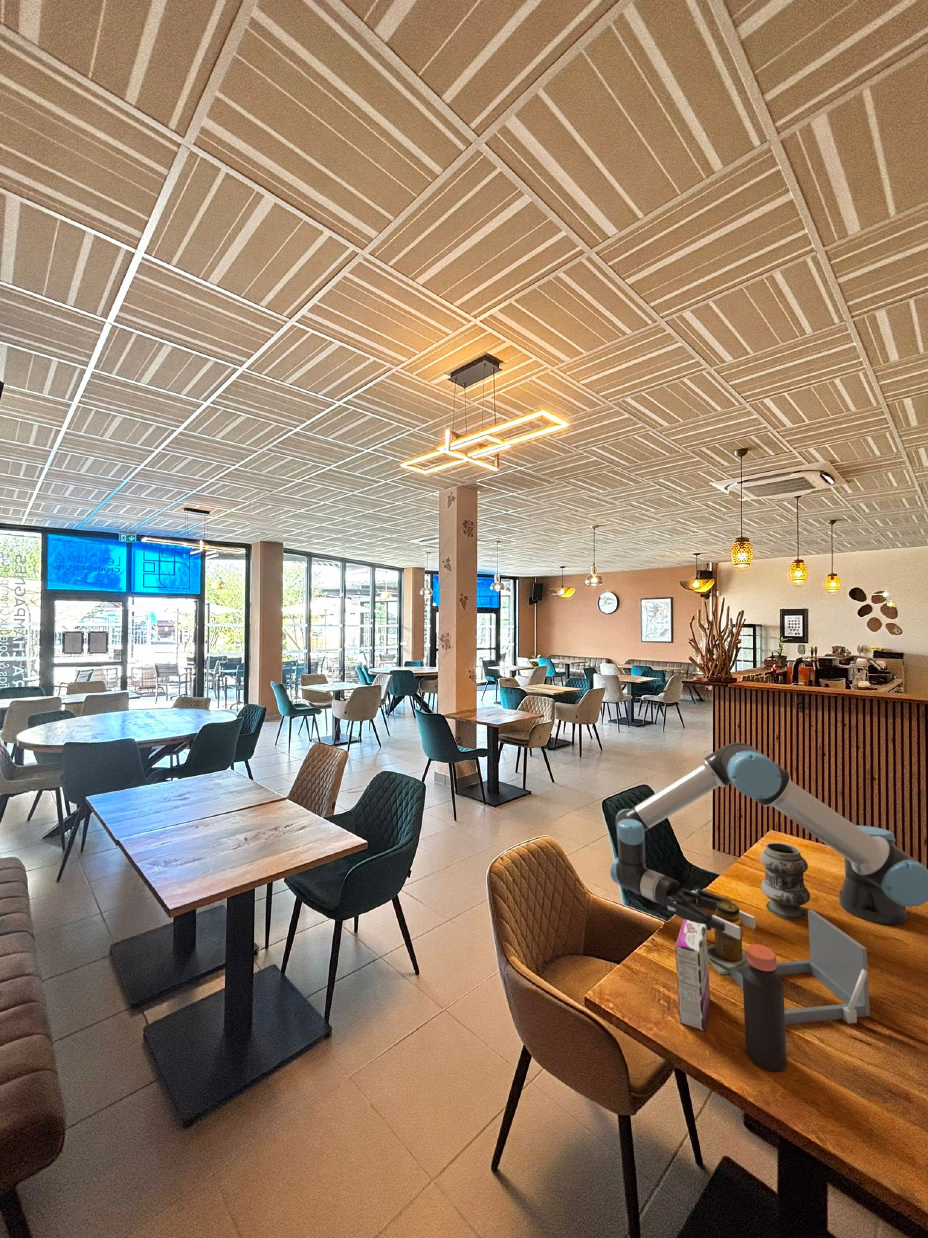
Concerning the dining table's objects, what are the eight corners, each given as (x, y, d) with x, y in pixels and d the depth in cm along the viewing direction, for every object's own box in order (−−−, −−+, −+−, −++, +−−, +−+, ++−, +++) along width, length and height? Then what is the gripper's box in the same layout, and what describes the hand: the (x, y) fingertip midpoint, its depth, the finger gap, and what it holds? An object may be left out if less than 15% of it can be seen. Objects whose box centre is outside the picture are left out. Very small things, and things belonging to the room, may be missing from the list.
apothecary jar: (792, 898, 152) (789, 838, 153) (821, 921, 140) (818, 856, 141) (752, 900, 152) (750, 840, 152) (778, 923, 140) (775, 858, 140)
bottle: (772, 1042, 100) (767, 940, 101) (795, 1072, 94) (790, 962, 94) (738, 1044, 100) (733, 941, 101) (759, 1074, 93) (754, 964, 94)
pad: (734, 945, 131) (734, 942, 131) (760, 971, 121) (760, 968, 121) (697, 948, 130) (697, 946, 130) (720, 974, 120) (720, 972, 120)
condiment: (750, 957, 124) (748, 907, 125) (731, 970, 120) (729, 918, 120) (721, 942, 130) (719, 895, 131) (702, 954, 126) (700, 905, 126)
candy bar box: (686, 990, 115) (683, 917, 116) (710, 998, 113) (707, 924, 113) (677, 1023, 106) (674, 944, 106) (704, 1033, 103) (700, 951, 104)
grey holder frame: (814, 969, 121) (811, 909, 122) (875, 1020, 105) (871, 952, 105) (730, 976, 119) (728, 916, 120) (779, 1030, 103) (776, 961, 104)
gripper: (682, 892, 146) (766, 929, 127) (640, 915, 135) (726, 959, 116) (681, 866, 146) (765, 899, 127) (639, 887, 135) (725, 926, 116)
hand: (746, 928), depth 122 cm, fingers open, 6 cm apart
